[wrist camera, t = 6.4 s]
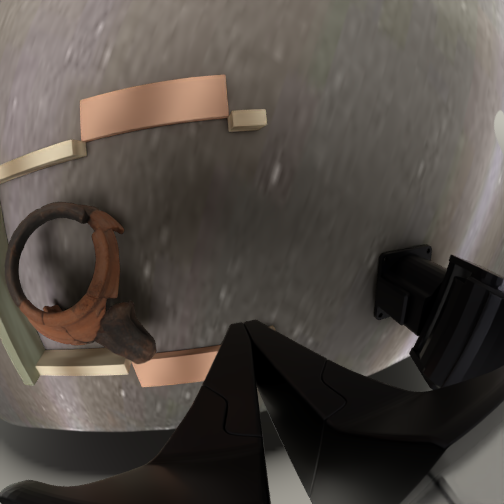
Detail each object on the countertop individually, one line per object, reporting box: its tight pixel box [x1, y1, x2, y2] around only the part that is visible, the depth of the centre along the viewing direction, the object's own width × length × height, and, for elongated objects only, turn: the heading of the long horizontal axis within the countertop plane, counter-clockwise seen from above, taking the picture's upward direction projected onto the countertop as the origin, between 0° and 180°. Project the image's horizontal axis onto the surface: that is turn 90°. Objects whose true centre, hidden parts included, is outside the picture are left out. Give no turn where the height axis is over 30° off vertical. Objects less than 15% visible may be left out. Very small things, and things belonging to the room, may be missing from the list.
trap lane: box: [0, 75, 276, 387], centre depth 17 cm, size 22×23×4 cm
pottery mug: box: [4, 202, 156, 364], centre depth 16 cm, size 12×10×8 cm
